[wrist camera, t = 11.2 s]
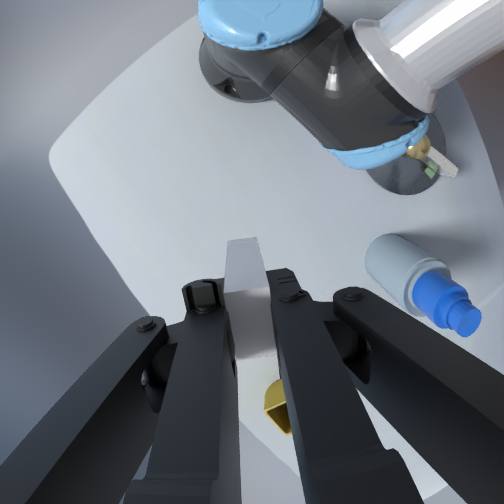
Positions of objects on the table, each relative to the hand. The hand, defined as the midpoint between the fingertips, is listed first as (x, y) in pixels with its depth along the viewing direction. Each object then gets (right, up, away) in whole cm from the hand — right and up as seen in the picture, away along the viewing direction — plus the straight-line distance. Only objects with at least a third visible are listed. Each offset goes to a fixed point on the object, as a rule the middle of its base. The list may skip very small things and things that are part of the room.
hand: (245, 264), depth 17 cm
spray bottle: (+24, 0, +38) cm, 45 cm away
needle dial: (+29, +17, +31) cm, 45 cm away
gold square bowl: (+8, -26, +44) cm, 52 cm away
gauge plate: (+26, +19, +32) cm, 45 cm away
